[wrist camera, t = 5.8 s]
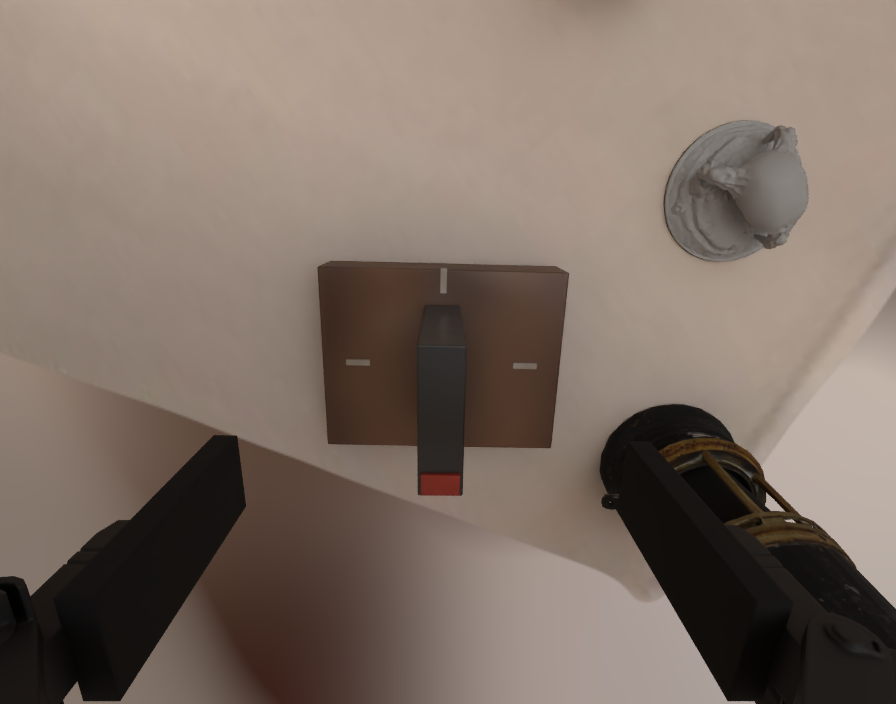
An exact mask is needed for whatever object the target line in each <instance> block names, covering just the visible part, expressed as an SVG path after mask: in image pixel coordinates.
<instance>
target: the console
mask: <svg viewBox="0 0 896 704" xmlns="http://www.w3.org/2000/svg"><path fill="white" fill-rule="evenodd" d="M568 278H569V273H568V272H566V271H564V270H562V269H560V268H558V267H556V266H517V265H477V264H436V263H396V262H356V261H330V262H327V263H325V264H323V265H321V266H319V267H318V282H319V299H320V316H321V334H322V351H323V368H324V385H325V402H326V419H327V436H328V444H352V445H406V446H417V343H418V338H419V333H420V328H421V323H422V318H423V313H424V308H425V306H426V305H435V306H460V310H461V316H462V322H463V328H464V334H465V340H466V346H467V353H466V389H465V425H464V447H514V448H551V442H552V432H553V423H554V413H555V404H556V394H557V384H558V375H559V365H560V355H561V346H562V336H563V326H564V317H565V307H566V297H567V288H568Z"/></svg>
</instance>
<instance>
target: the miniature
mask: <svg viewBox="0 0 896 704" xmlns="http://www.w3.org/2000/svg"><path fill="white" fill-rule="evenodd" d="M796 145H797V135H796V134H795V129H794V128H792V127H789V128H786V127H784V126H777V127H774V126H772V125H770V124H767V123H764V122H760V121H751V120H745V121H736V122H731V123H727V124H724V125H721V126H719V127H717V128H714V129H712V130H711V131H709V132H707V133H705V134H704V135H702V136H701V137H700V138H698V139H697V140H696V141H695V142H694V143H693V144H692V145H691V146H690V147H689V148H688V149H687V150H686V151H685V152H684V153H683V155H682V156H681V157H680V159H679V160H678V162H677V163H676V165H675V167H674V169H673V171H672V173H671V175H670V178H669V181H668V184H667V188H666V192H665V201H664V209H665V217H666V221H667V225H668V228H669V230H670V232H671V234H672V236H673V237H674V239H675V240H676V242H677V243H678V244H679V245H680V246H681V247H682V248H683V249H685V250H686V251H687V252H689V253H690V254H692V255H694V256H696V257H699V258H702V259H706V260H710V261H731V260H736V259H740V258H743V257H746V256H748V255H750V254H753V253H755V252H756V251H758V250H760V249H761V248H763V247H764V248H766V249H772V248H775V247H776V246H780V245H783V244H784V243H785V242H786V241H787V238H788V237H789V235H790V234H789V232H790V231H791V229H792V227H793V226H794V225H795V224H796V222H797V220H798V219H799V218H800V217H801V216H802V215H803V213H804V211H805V209H806V207H807V204H808V182H807V177H806V173H805V171H804V169H803V167H802V164H801V160H800V156H799V154H798V151H797V149H796Z"/></svg>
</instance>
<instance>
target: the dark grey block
mask: <svg viewBox="0 0 896 704" xmlns="http://www.w3.org/2000/svg"><path fill="white" fill-rule="evenodd" d="M466 353H467V346H466V340H465V334H464V328H463V322H462V316H461V310H460V306H435V305H426V306H425V308H424V313H423V318H422V323H421V328H420V333H419V338H418V343H417V450H418V495H445V496H461V495H462V494H463V461H464V425H465V389H466Z"/></svg>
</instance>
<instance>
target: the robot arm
mask: <svg viewBox="0 0 896 704" xmlns="http://www.w3.org/2000/svg"><path fill="white" fill-rule="evenodd" d="M245 507H246V502H245V495H244V486H243V478H242V471H241V463H240V455H239V447H238V439H237V436H225V435H214V436H213V437H212V438H211V439H210V440H209V441H208V442H207V443H206V444H205V445H204V446H203V447H202V448H201V449H200V450H199V451H198V452H197V453H196V454H195V455H194V456H193V457H192V458H191V459H190V460H189V461H188V462H187V463H186V464H185V465H184V466H183V467H182V468H181V469H180V470H179V471H178V472H177V473H176V474H175V475H174V476H173V477H172V478H171V479H170V480H169V481H168V482H167V483H166V484H165V485H164V486H163V487H162V488H161V489H160V490H159V491H158V493H156V494H155V495H154V496H153V497H152V499H150V501H149V502H148V503H147V504H146V505H145V506H144V507H143V508H142V509H141V510H140V511H139V512H138V513H137V514H136V515H135V516H134V517H133V518H132V519H131V520H118V521H116V522H115V523H113V524H111V525H110V526H108V527H106V528H105V529H103V530H101V531H100V532H98V533H97V534H96V535H94V536H93V537H92V538H91V539H90V540H89V541H88V542H87V543H86V544H85V545H84V546H83V547H82V548H81V550H80V552H77V553H76V554H75V555H73V556H72V557H71V558H70V559H69V560H68V562H67V564H64V565H63V566H62V567H61V568H60V569H59V570H58V571H57V572H56V573H55V574H53V575H52V576H51V577H50V578H49V579H48V580H47V581H46V582H45V583H44V584H43V585H42V586H41V587H40V588H39V589H38V590H37V591H36V592H35V593H34V594H33V595H31V596H30V595H29V592H28V588H27V585H26V584H25V582H24V580H23V579H21V578H18V577H14V576H10V577H0V704H64V702H63V699H64V698H65V696H66V695H67V694H68V692H69V691H70V690H71V688H72V687H73V686H74V684H75V683H76V682H77V681H78V684H79V688H80V691H81V695H82V698H83V701H121V699H122V697H123V696H124V694H125V693H126V691H127V690H128V688H129V687H130V685H131V684H132V682H133V681H134V679H135V677H136V676H137V674H138V672H139V671H140V670H141V668H142V667H143V665H144V663H145V662H146V660H147V659H148V657H149V656H150V654H151V653H152V651H153V650H154V648H155V646H156V645H157V643H158V642H159V640H160V639H161V637H162V636H163V634H164V632H165V631H166V629H167V628H168V626H169V625H170V623H171V622H172V620H173V618H174V617H175V615H176V614H177V612H178V611H179V609H180V608H181V606H182V604H183V603H184V601H185V600H186V598H187V597H188V595H189V594H190V592H191V591H192V589H193V588H194V586H195V584H196V583H197V581H198V580H199V578H200V577H201V575H202V574H203V572H204V570H205V569H206V567H207V566H208V564H209V563H210V561H211V560H212V558H213V557H214V555H215V553H216V552H217V550H218V549H219V547H220V546H221V544H222V543H223V541H224V540H225V538H226V536H227V535H228V533H229V531H230V530H231V529H232V527H233V526H234V524H235V522H236V521H237V519H238V518H239V516H240V515H241V513H242V512H243V510H244V509H245ZM616 510H617V512H618V514H619V515H620V517H621V519H622V520H623V522H624V524H625V526H626V527H627V529H628V531H629V532H630V534H631V536H632V538H633V539H634V541H635V543H636V544H637V546H638V548H639V550H640V551H641V553H642V555H643V556H644V558H645V560H646V562H647V563H648V565H649V567H650V568H651V570H652V572H653V574H654V575H655V577H656V579H657V580H658V582H659V584H660V586H661V587H662V589H663V591H664V592H665V594H666V596H667V598H668V599H669V601H670V603H671V604H672V606H673V608H674V610H675V611H676V613H677V615H678V616H679V618H680V620H681V622H682V623H683V625H684V627H685V628H686V630H687V632H688V633H689V635H690V637H691V639H692V640H693V642H694V644H695V646H696V647H697V649H698V651H699V652H700V654H701V656H702V658H703V659H704V661H705V663H706V664H707V666H708V668H709V670H710V671H711V673H712V675H713V676H714V678H715V680H716V682H717V683H718V685H719V686H720V688H721V690H722V692H723V694H724V695H725V697H726V699H727V700H728V701H762V700H763V697H764V694H765V691H766V687H767V684H768V681H770V683H771V684H772V685H773V687H774V688H775V690H776V691H777V693H778V694H779V695H780V697H781V698H782V699H781V702H780V704H896V650H895V649H891V648H888V647H886V646H885V644H884V643H883V642H882V641H881V640H880V639H879V638H878V637H877V636H876V635H875V634H873V633H872V632H871V631H869V630H868V629H867V628H865V627H864V626H862V625H860V624H859V623H857V622H855V621H853V620H851V619H849V618H847V617H844V616H841V615H838V614H835V613H829V612H827V611H826V610H825V609H824V608H823V607H822V606H821V605H820V604H819V603H818V602H817V601H816V600H815V599H814V597H813V596H812V595H811V594H810V593H809V592H808V591H807V590H806V589H805V588H804V587H803V586H802V585H801V584H800V583H799V582H798V581H797V580H796V579H795V578H794V577H793V576H792V574H791V573H790V572H789V571H788V570H787V569H786V568H783V566H782V564H781V563H780V562H779V561H778V560H777V559H776V558H775V557H774V556H771V553H770V551H769V550H768V549H767V548H766V547H765V546H764V545H763V544H762V543H761V542H760V541H759V540H758V539H757V538H756V537H754V536H753V535H751V534H750V533H748V532H747V531H745V530H744V529H742V528H741V527H739V526H738V525H724V524H723V523H722V522H721V520H720V519H719V518H718V517H717V516H716V515H715V514H714V513H713V512H712V510H711V509H710V508H709V507H708V506H707V505H706V504H705V503H704V502H703V500H702V499H701V498H700V497H699V496H698V495H697V494H696V493H695V491H694V490H693V489H692V488H691V487H690V486H689V485H688V484H687V483H686V481H685V480H684V479H683V478H682V477H681V476H680V475H679V474H678V472H677V471H676V470H675V469H674V468H673V467H672V466H671V465H670V464H669V462H668V461H667V460H666V459H665V458H664V457H663V456H662V455H661V453H660V452H659V451H658V450H657V449H656V448H655V447H654V446H653V445H652V443H651V442H647V441H627V448H626V454H625V460H624V466H623V472H622V478H621V485H620V491H619V497H618V503H617V509H616Z"/></svg>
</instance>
